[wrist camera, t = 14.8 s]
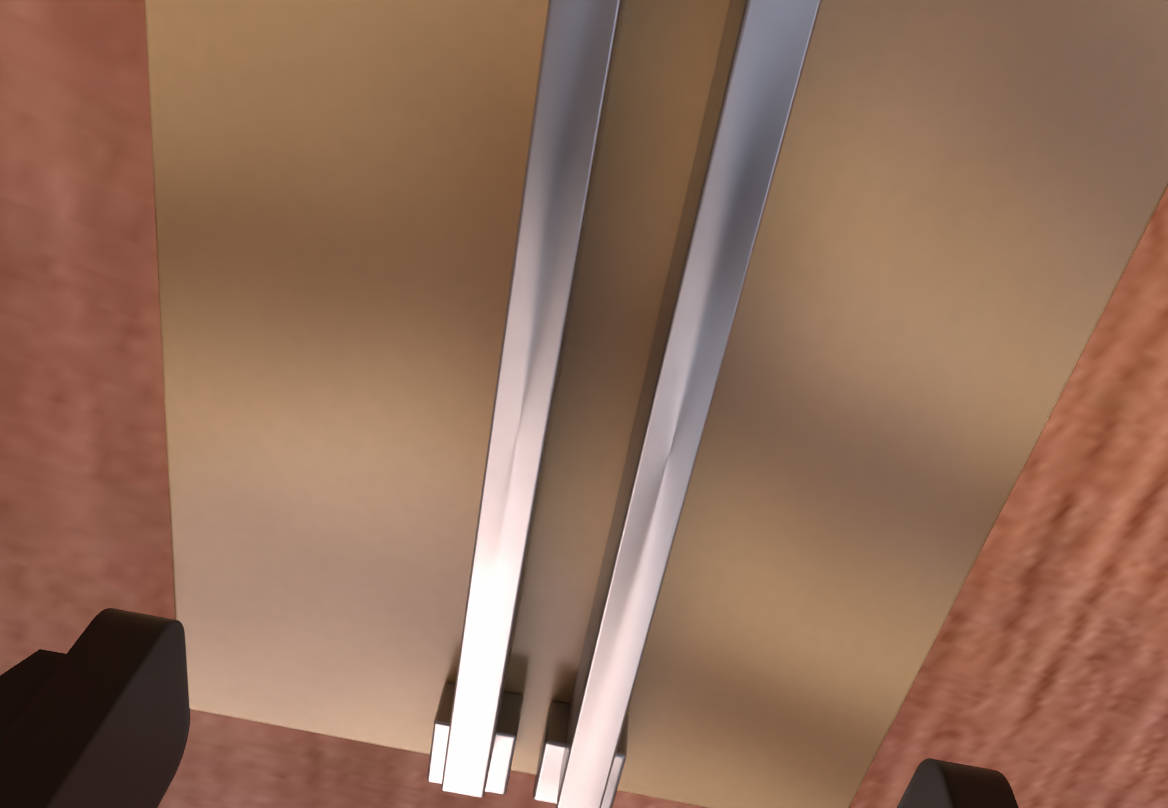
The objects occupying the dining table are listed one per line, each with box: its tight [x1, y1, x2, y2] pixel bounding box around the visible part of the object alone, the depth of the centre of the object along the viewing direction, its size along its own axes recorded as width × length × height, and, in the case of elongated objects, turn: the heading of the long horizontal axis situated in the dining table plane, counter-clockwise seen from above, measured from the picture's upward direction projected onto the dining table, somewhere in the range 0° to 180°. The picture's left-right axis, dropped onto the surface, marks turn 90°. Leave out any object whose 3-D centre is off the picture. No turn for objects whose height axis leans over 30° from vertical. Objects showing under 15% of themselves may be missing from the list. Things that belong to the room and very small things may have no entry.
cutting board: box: [145, 0, 1168, 808], centre depth 18 cm, size 22×16×1 cm
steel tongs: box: [427, 0, 822, 808], centre depth 16 cm, size 20×4×2 cm, turn 171°
